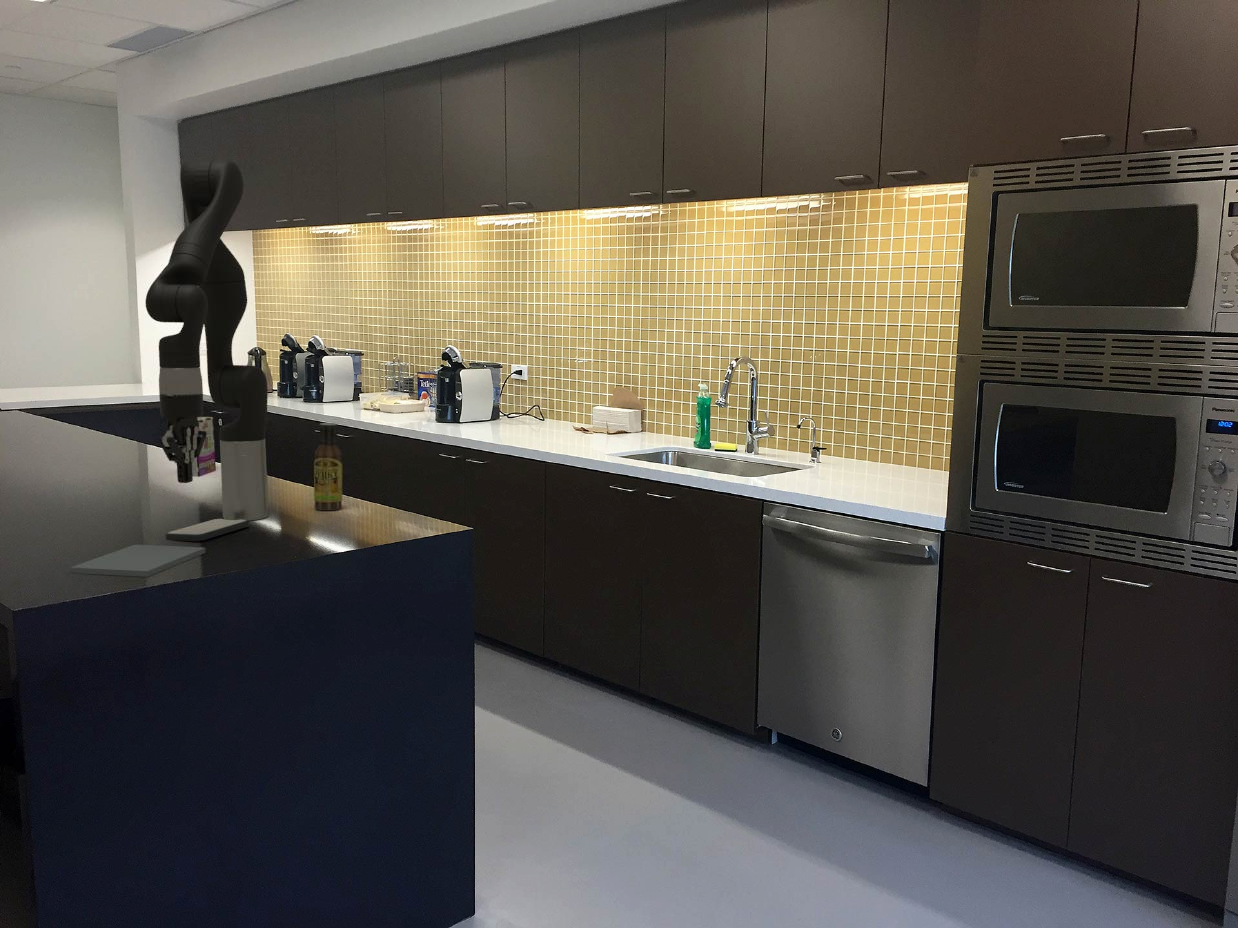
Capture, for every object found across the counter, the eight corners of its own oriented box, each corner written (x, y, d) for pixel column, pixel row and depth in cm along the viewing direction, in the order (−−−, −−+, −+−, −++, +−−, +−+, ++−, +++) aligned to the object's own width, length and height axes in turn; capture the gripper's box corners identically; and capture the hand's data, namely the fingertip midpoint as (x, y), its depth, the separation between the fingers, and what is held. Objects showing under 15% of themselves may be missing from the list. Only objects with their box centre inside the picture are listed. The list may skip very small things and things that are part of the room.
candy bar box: (198, 475, 275) (196, 416, 272) (216, 475, 275) (214, 416, 272) (180, 481, 264) (177, 420, 261) (199, 481, 264) (196, 420, 261)
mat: (135, 549, 184) (135, 544, 184) (205, 552, 183) (205, 547, 182) (70, 573, 167) (70, 567, 166) (147, 576, 165) (147, 571, 165)
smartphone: (200, 543, 190) (252, 526, 206) (199, 535, 190) (252, 519, 205) (162, 541, 193) (216, 525, 208) (161, 533, 192) (216, 518, 208)
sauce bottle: (311, 511, 224) (308, 424, 221) (318, 506, 230) (316, 422, 227) (339, 511, 224) (337, 425, 222) (346, 506, 231) (344, 422, 228)
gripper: (182, 389, 192) (186, 476, 195) (141, 393, 179) (146, 487, 182) (218, 390, 191) (221, 478, 194) (179, 394, 178) (184, 488, 181)
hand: (185, 482), depth 188 cm, fingers closed
